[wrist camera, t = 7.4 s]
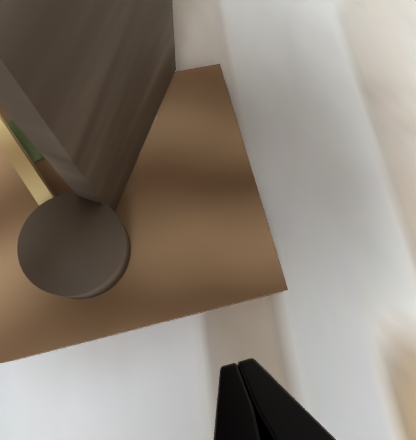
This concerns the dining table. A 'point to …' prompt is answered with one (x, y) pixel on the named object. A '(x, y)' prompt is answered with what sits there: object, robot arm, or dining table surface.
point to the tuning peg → (81, 126)
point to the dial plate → (152, 229)
